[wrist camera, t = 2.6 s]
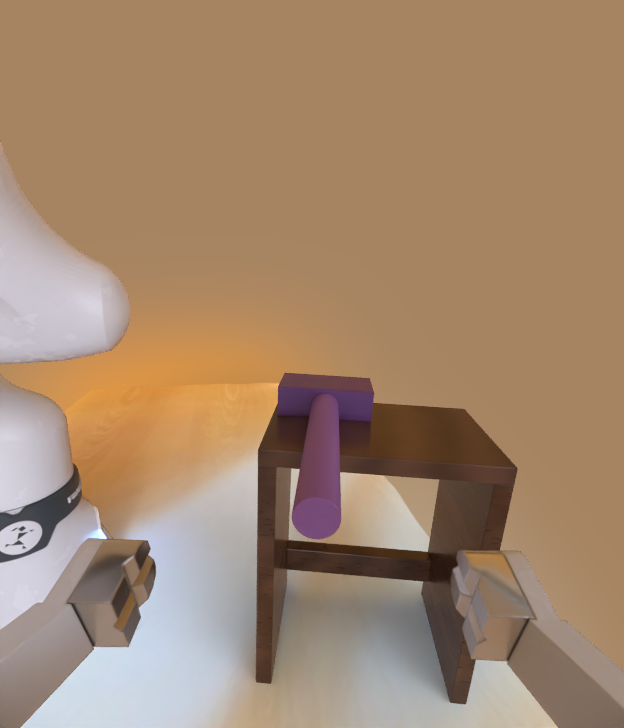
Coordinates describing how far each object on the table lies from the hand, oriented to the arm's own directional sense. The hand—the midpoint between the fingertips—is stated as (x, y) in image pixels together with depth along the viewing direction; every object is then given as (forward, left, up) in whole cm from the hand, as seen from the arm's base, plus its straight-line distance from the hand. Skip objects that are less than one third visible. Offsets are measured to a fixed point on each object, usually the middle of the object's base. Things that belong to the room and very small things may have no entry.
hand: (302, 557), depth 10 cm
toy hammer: (-14, +13, -7) cm, 20 cm away
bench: (-15, +19, -32) cm, 40 cm away
